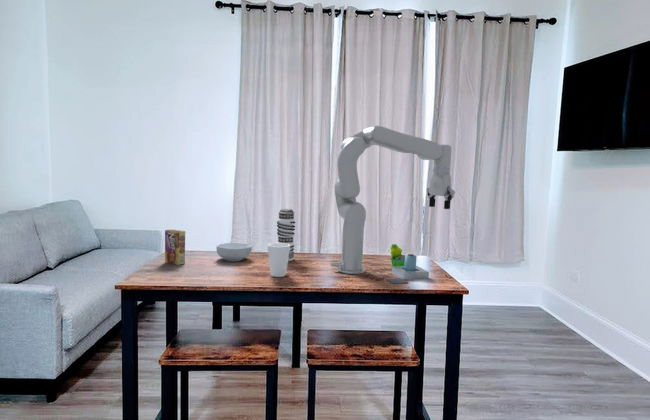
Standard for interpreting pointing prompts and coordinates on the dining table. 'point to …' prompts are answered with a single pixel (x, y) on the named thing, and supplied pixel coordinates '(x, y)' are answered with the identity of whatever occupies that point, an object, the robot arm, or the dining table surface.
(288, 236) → the decorative candle
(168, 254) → the candy box
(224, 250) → the cereal bowl
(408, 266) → the blue cylinder
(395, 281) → the mat
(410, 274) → the frame
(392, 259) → the fruit basket
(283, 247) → the foam cup
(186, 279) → the dining table surface
